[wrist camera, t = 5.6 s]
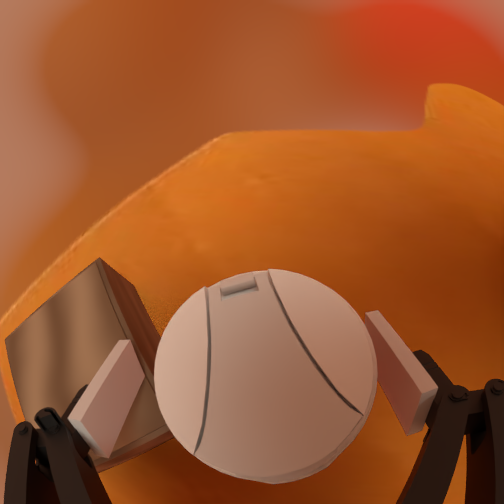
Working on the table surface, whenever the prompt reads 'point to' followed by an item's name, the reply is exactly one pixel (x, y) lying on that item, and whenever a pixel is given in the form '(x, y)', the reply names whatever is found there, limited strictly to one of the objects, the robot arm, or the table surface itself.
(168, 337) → the paper cup
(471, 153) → the table surface
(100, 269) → the walnut box
